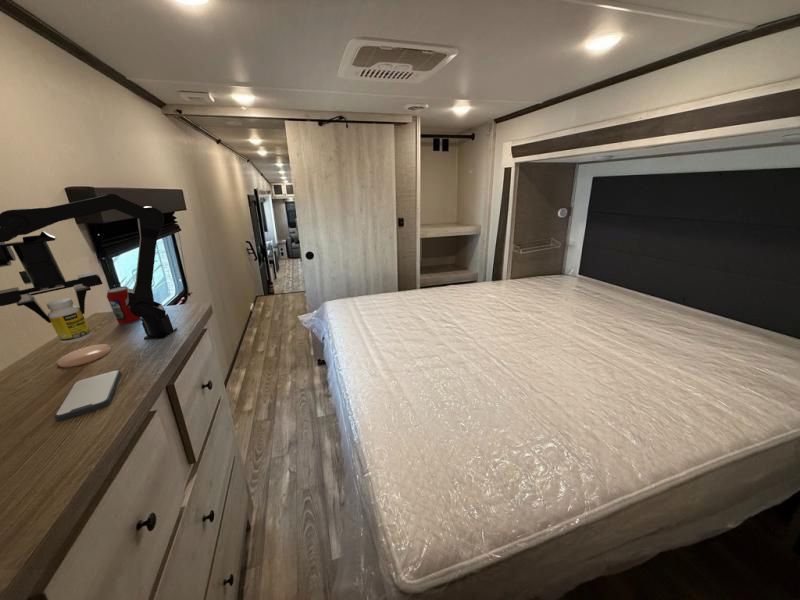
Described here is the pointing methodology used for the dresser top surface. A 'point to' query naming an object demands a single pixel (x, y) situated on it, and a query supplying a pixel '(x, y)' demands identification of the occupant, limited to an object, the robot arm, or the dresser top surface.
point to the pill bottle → (68, 321)
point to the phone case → (88, 395)
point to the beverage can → (120, 305)
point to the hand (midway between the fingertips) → (67, 317)
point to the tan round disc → (84, 355)
